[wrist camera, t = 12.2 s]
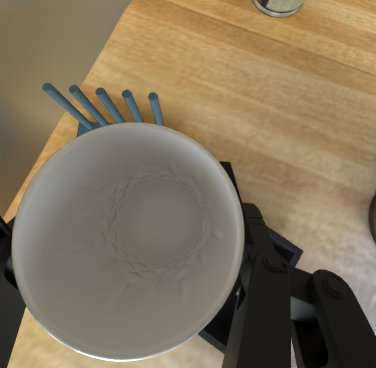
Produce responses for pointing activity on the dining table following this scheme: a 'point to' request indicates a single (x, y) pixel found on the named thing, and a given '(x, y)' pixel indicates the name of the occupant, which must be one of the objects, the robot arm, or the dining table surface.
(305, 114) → the dining table surface
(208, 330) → the black square tray
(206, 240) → the white cup
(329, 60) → the dining table surface
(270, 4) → the coffee can
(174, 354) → the dining table surface
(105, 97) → the drying rack
